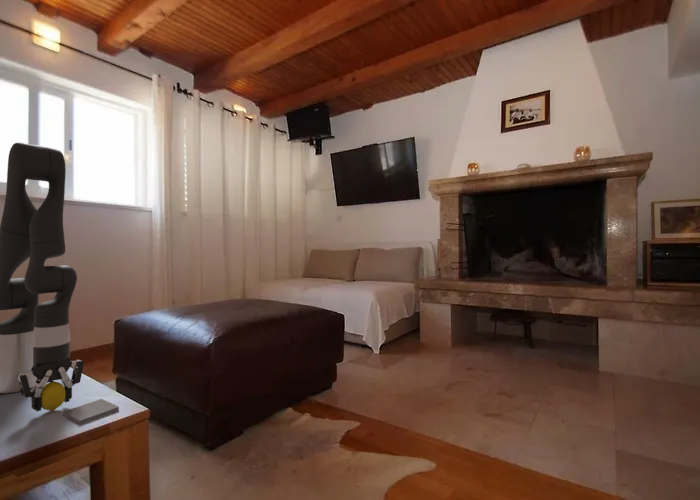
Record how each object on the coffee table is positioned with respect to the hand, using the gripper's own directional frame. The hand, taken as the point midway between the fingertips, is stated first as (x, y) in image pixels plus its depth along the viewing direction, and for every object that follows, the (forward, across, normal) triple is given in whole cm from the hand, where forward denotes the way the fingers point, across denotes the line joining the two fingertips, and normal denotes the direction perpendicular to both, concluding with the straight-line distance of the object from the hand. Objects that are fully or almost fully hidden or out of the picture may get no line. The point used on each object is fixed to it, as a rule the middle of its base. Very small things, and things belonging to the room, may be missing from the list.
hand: (52, 405), depth 96 cm
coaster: (+1, -5, +10) cm, 11 cm away
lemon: (+2, 0, 0) cm, 2 cm away
